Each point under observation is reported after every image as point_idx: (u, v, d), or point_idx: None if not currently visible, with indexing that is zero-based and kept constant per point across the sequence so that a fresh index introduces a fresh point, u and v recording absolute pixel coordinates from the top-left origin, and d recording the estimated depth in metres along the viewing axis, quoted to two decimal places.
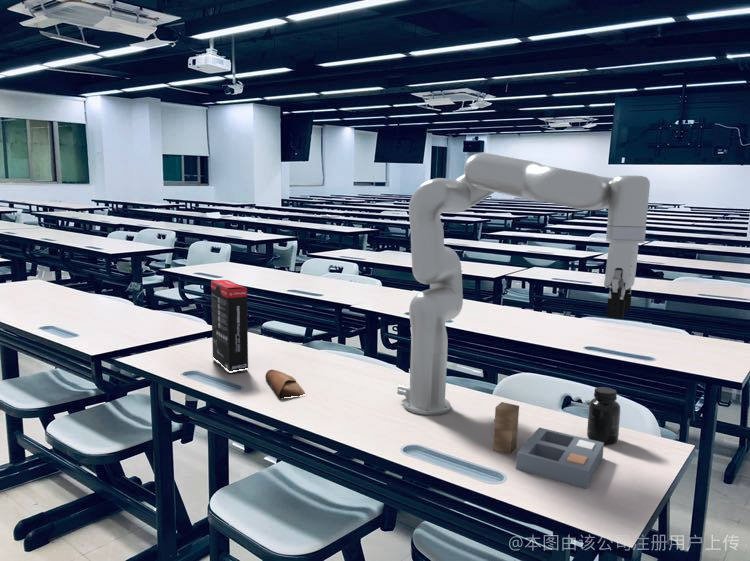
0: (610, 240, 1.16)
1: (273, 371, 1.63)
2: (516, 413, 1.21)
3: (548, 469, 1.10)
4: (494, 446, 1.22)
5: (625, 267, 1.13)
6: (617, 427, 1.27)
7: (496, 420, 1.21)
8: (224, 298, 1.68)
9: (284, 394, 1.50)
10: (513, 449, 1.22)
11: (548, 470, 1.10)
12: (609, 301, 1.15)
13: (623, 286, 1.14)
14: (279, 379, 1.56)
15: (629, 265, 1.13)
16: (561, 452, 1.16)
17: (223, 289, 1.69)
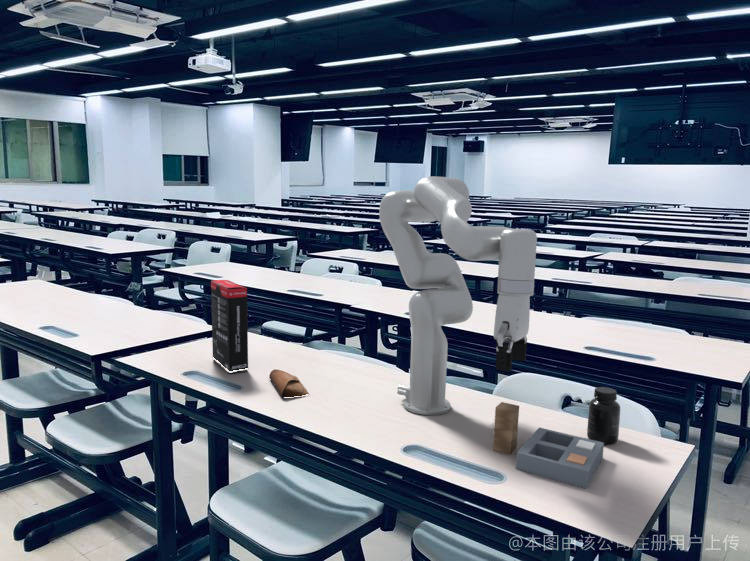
0: (499, 292, 1.17)
1: (277, 371, 1.63)
2: (516, 413, 1.21)
3: (548, 469, 1.10)
4: (494, 446, 1.22)
5: (511, 321, 1.14)
6: (617, 427, 1.27)
7: (496, 420, 1.21)
8: (224, 298, 1.68)
9: (287, 394, 1.50)
10: (513, 449, 1.22)
11: (548, 470, 1.10)
12: (498, 353, 1.16)
13: (511, 340, 1.15)
14: (282, 379, 1.56)
15: (515, 319, 1.14)
16: (561, 452, 1.16)
17: (223, 289, 1.69)
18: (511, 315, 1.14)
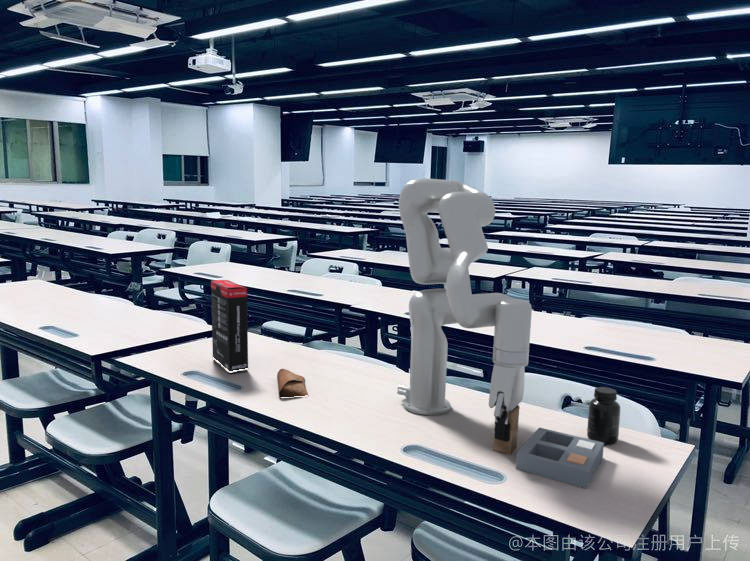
0: (495, 362, 1.19)
1: (283, 370, 1.64)
2: (516, 413, 1.21)
3: (548, 469, 1.10)
4: (494, 446, 1.22)
5: (506, 392, 1.16)
6: (617, 427, 1.27)
7: None
8: (224, 298, 1.68)
9: (285, 394, 1.51)
10: (513, 449, 1.22)
11: (548, 470, 1.10)
12: (496, 424, 1.21)
13: (505, 409, 1.17)
14: (284, 378, 1.57)
15: (510, 389, 1.16)
16: (561, 452, 1.16)
17: (223, 289, 1.69)
18: (506, 386, 1.16)
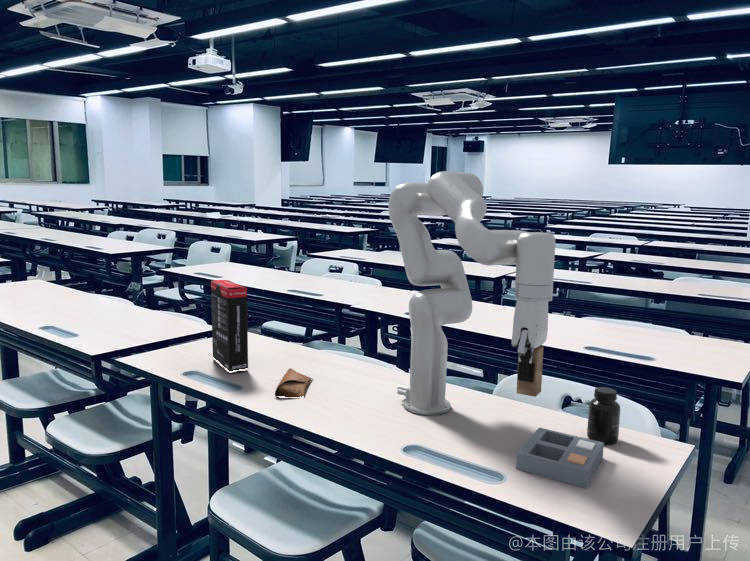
0: (517, 298, 1.13)
1: (290, 370, 1.65)
2: (540, 353, 1.15)
3: (548, 469, 1.10)
4: (518, 388, 1.16)
5: (530, 327, 1.10)
6: (617, 427, 1.27)
7: None
8: (224, 298, 1.68)
9: (280, 393, 1.51)
10: (538, 391, 1.16)
11: (548, 470, 1.10)
12: (520, 364, 1.15)
13: (530, 346, 1.11)
14: (285, 378, 1.57)
15: (534, 325, 1.10)
16: (561, 452, 1.16)
17: (223, 289, 1.69)
18: (530, 321, 1.10)
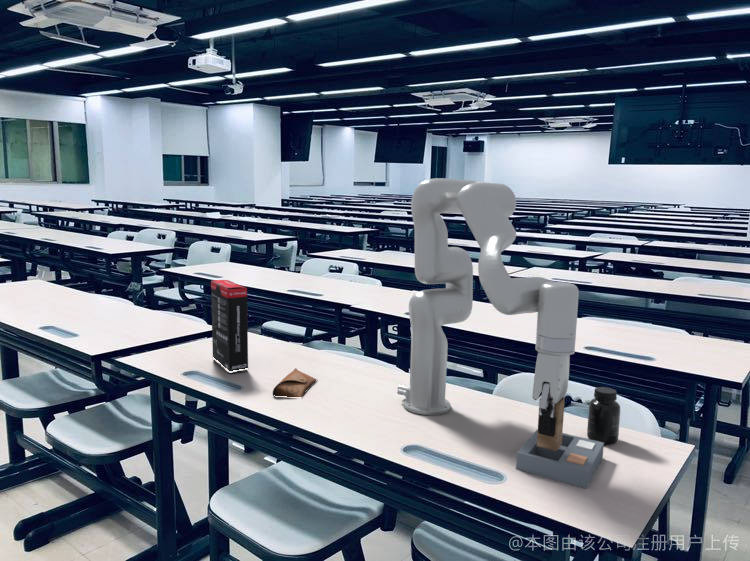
0: (538, 350, 1.10)
1: (294, 370, 1.65)
2: (562, 405, 1.12)
3: (548, 469, 1.10)
4: (538, 441, 1.13)
5: (553, 382, 1.07)
6: (617, 427, 1.27)
7: None
8: (224, 298, 1.68)
9: (278, 393, 1.51)
10: (559, 445, 1.12)
11: (548, 470, 1.10)
12: (540, 417, 1.11)
13: (552, 401, 1.08)
14: (286, 378, 1.57)
15: (556, 379, 1.07)
16: (561, 452, 1.16)
17: (223, 289, 1.69)
18: (552, 375, 1.07)
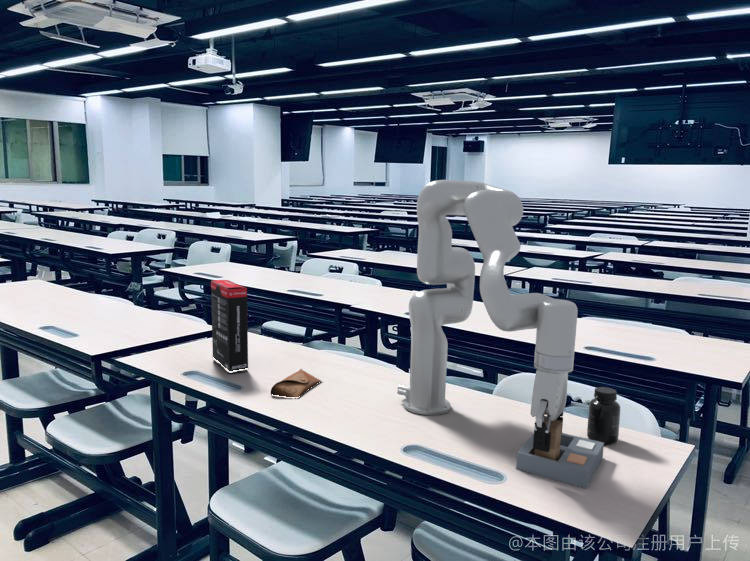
0: (537, 367, 1.11)
1: (299, 370, 1.65)
2: (559, 429, 1.13)
3: (548, 469, 1.10)
4: None
5: (551, 399, 1.08)
6: (617, 427, 1.27)
7: None
8: (224, 298, 1.68)
9: (275, 392, 1.52)
10: None
11: (548, 470, 1.10)
12: (535, 432, 1.10)
13: (549, 418, 1.09)
14: None
15: (555, 397, 1.08)
16: (561, 452, 1.16)
17: (223, 289, 1.69)
18: (550, 393, 1.08)
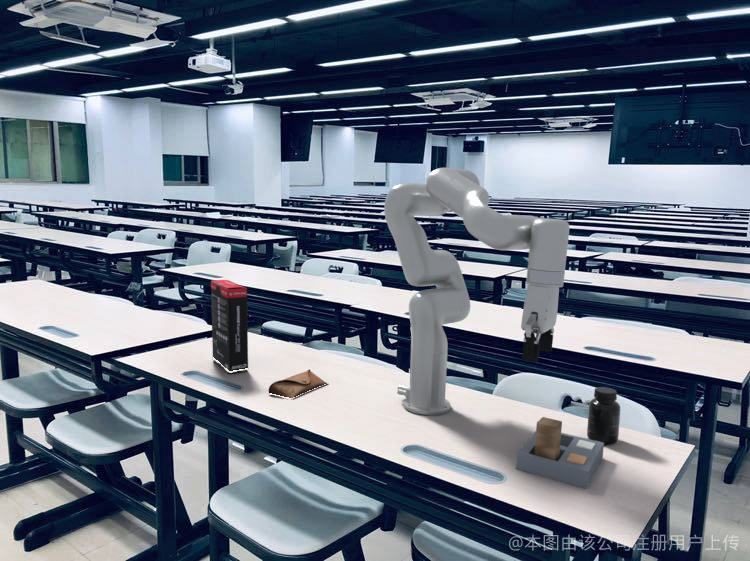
0: (529, 283, 1.15)
1: (306, 371, 1.64)
2: (559, 429, 1.13)
3: (548, 469, 1.10)
4: None
5: (540, 312, 1.13)
6: (617, 427, 1.27)
7: (537, 436, 1.13)
8: (224, 298, 1.68)
9: (273, 391, 1.52)
10: None
11: (548, 470, 1.10)
12: (525, 344, 1.15)
13: (539, 331, 1.14)
14: None
15: (544, 310, 1.12)
16: (561, 452, 1.16)
17: (223, 289, 1.69)
18: (540, 306, 1.13)
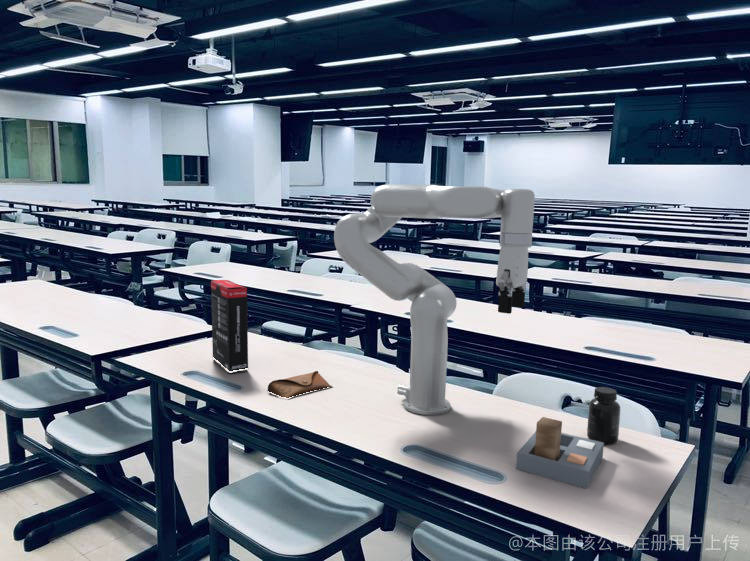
0: (501, 245, 1.33)
1: (312, 372, 1.63)
2: (559, 429, 1.13)
3: (548, 469, 1.10)
4: None
5: (512, 269, 1.30)
6: (617, 427, 1.27)
7: (537, 436, 1.13)
8: (224, 298, 1.68)
9: (271, 390, 1.54)
10: None
11: (548, 470, 1.10)
12: (500, 298, 1.32)
13: (511, 285, 1.31)
14: (290, 377, 1.58)
15: (515, 267, 1.30)
16: (561, 452, 1.16)
17: (223, 289, 1.69)
18: (512, 264, 1.30)
